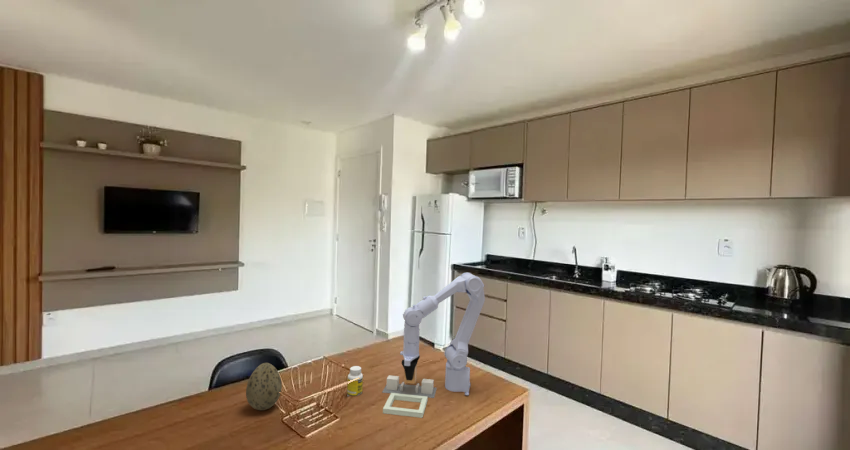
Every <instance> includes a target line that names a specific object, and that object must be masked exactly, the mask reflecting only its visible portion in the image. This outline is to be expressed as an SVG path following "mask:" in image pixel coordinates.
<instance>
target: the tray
mask: <svg viewBox="0 0 850 450" xmlns="http://www.w3.org/2000/svg"><path fill="white" fill-rule="evenodd" d="M428 400H429V399H428V397H427V396H418V395H408V394H399V393H389V396H388V398H387V400H386V402H385V404H384V406H383V408H382V414H387V415H394V416H395V415H396V416H402V417H411V418H413V417H414V418H420V419H422V418H423V417H424V414H425V411H426V406H427V403H428ZM394 401H403V402H412V403H420V404H419V408H418V409H414V408H405V407H397V406H393V404H394Z"/></svg>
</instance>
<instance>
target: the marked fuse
mask: <svg viewBox="0 0 850 450" xmlns="http://www.w3.org/2000/svg"><path fill="white" fill-rule="evenodd" d="M417 368H418V363H417V364H416V366H415V370H414V375H413V379H412V380H406V375H405V370H404V369H403V370H404V372H403V373H404V374H403V377H404V378H403V379H404V380H403V382H404V383H405V384H410V385H415V384H416V382H417V374H418V373H417V371H418V369H417Z"/></svg>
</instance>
